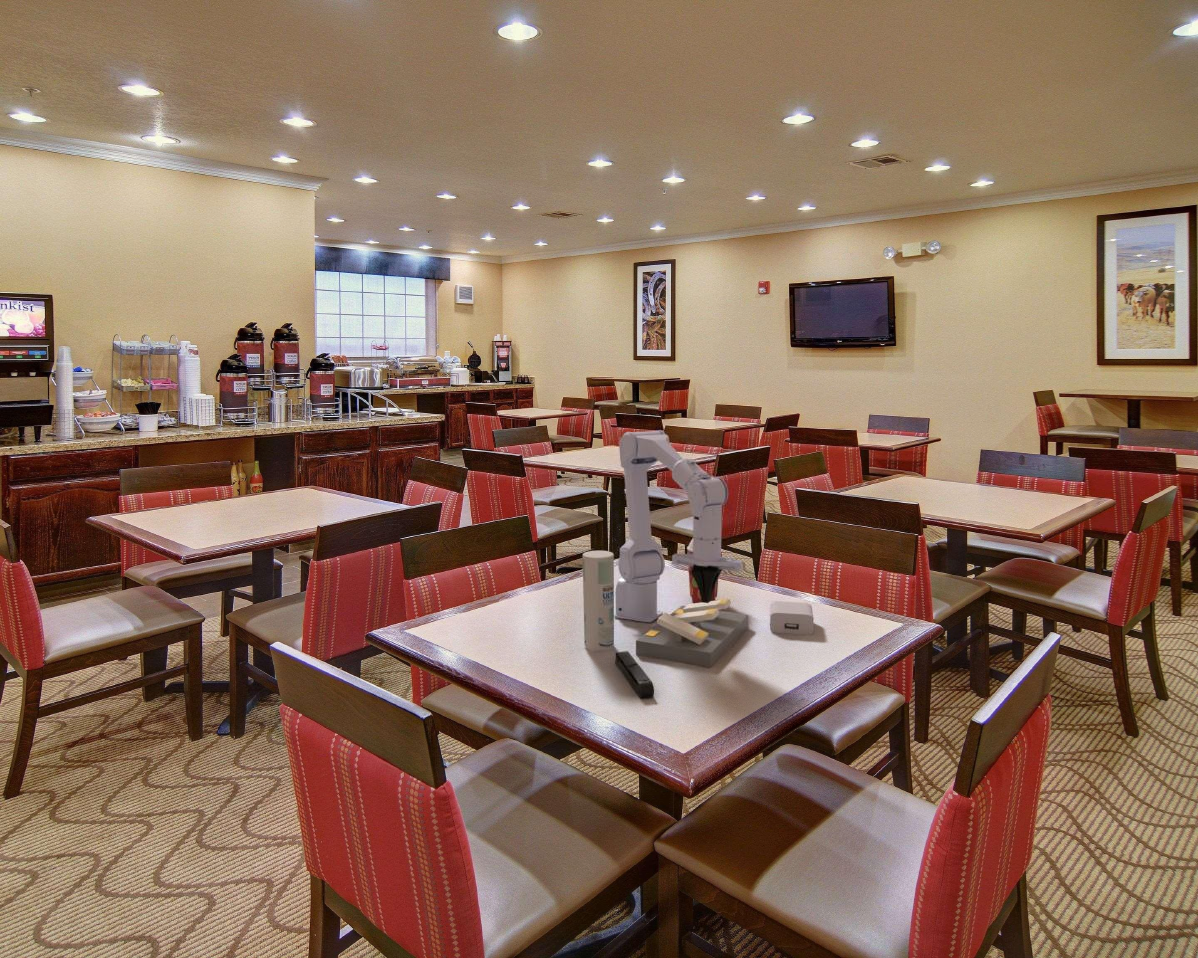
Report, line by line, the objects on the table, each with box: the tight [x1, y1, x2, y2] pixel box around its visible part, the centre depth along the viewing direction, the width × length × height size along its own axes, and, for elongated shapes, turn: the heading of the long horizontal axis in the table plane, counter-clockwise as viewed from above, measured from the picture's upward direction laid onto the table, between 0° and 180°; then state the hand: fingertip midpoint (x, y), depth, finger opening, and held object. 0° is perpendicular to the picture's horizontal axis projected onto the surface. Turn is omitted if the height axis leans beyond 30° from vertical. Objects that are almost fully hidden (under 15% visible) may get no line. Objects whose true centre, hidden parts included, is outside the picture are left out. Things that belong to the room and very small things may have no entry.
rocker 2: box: [674, 609, 720, 623], centre depth 162 cm, size 10×4×1 cm, turn 62°
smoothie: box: [686, 538, 719, 603], centre depth 190 cm, size 8×8×20 cm
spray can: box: [582, 550, 615, 652], centre depth 159 cm, size 6×6×20 cm
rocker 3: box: [683, 598, 732, 613], centre depth 169 cm, size 10×4×1 cm, turn 62°
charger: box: [769, 601, 815, 635], centre depth 173 cm, size 5×9×15 cm
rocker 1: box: [656, 612, 709, 644], centre depth 155 cm, size 10×4×1 cm, turn 64°
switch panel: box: [635, 605, 750, 668], centre depth 162 cm, size 16×26×4 cm, turn 153°
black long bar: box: [614, 650, 655, 700], centre depth 142 cm, size 18×3×3 cm, turn 14°
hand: (706, 601), depth 156 cm, fingers closed
